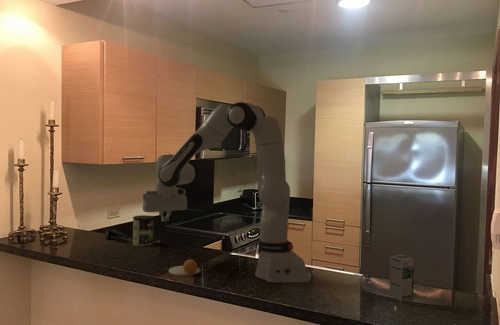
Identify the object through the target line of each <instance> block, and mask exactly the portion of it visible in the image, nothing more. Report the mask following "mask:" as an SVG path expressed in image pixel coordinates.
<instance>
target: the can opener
mask: <svg viewBox="0 0 500 325" xmlns="http://www.w3.org/2000/svg"><path fill="white" fill-rule="evenodd" d="M104 233H105V239H107V240H116V241H119V242H121V243H124V244H127V243H128V240H127V239H129V236H128V235H127V234H124V233H123V232H120V231H118V230H116V229H110V228H107V229H105V231H104Z"/></svg>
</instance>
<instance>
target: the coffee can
mask: <svg viewBox="0 0 500 325" xmlns="http://www.w3.org/2000/svg"><path fill="white" fill-rule="evenodd" d="M132 218H133V220H132V221H133V222H132V245H134V246H137V247H144V246H145V247H146V246H151V245H153V244H154V219H155V218H154V216H153V215H145V214H144V215H143V214H142V215H134V216H133V217H132Z"/></svg>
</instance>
